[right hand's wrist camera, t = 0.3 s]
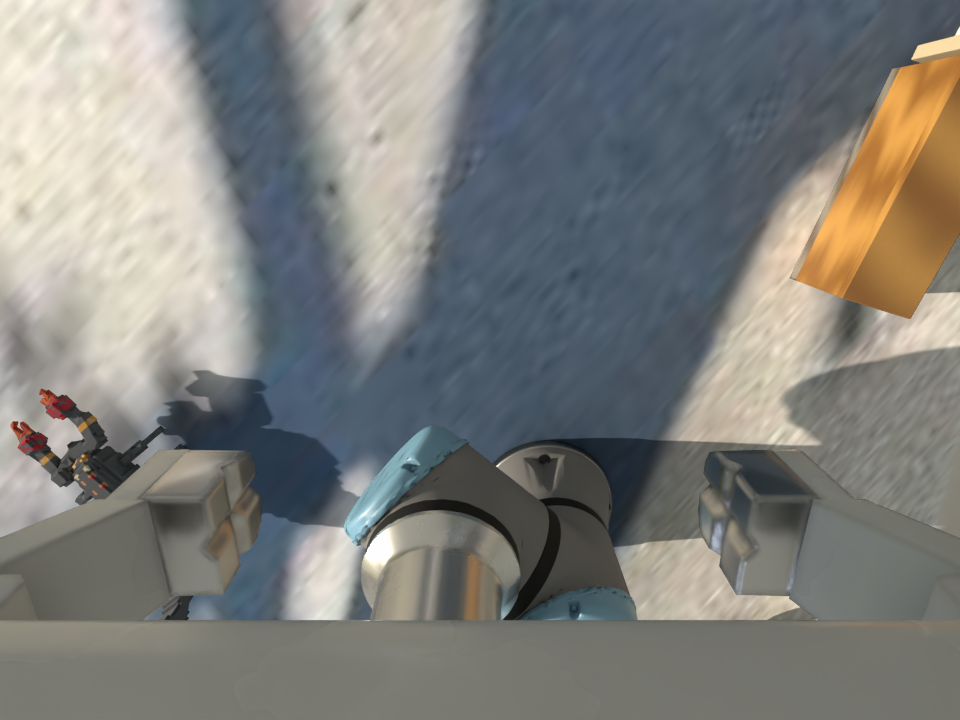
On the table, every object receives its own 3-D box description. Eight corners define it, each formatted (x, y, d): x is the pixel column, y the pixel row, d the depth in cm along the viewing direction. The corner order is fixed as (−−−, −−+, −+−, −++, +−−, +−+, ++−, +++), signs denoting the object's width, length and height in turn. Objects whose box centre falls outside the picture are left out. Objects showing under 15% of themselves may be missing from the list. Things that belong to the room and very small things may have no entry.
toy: (190, 577, 70) (96, 715, 53) (10, 426, 63) (-169, 529, 45) (265, 521, 67) (191, 647, 50) (85, 357, 60) (-75, 438, 43)
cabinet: (892, 68, 50) (972, 51, 42) (958, 92, 51) (1049, 80, 43) (789, 278, 57) (841, 298, 49) (849, 296, 58) (910, 319, 49)
